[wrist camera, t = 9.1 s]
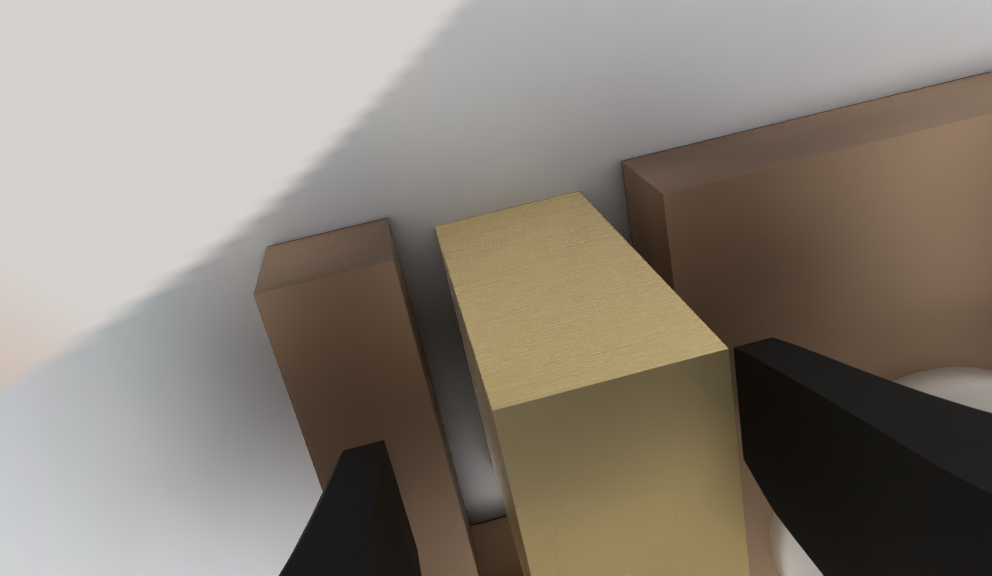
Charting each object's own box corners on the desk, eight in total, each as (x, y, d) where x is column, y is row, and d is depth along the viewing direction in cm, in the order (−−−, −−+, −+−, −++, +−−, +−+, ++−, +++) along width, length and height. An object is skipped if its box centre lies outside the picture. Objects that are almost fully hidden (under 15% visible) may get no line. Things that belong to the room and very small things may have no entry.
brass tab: (578, 190, 14) (728, 348, 8) (618, 434, 16) (759, 689, 10) (434, 226, 14) (493, 410, 8) (493, 468, 16) (571, 744, 10)
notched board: (1369, -20, 15) (1513, -16, 13) (1251, 506, 20) (1343, 564, 18) (266, 247, 13) (253, 295, 12) (433, 744, 18) (443, 832, 16)
